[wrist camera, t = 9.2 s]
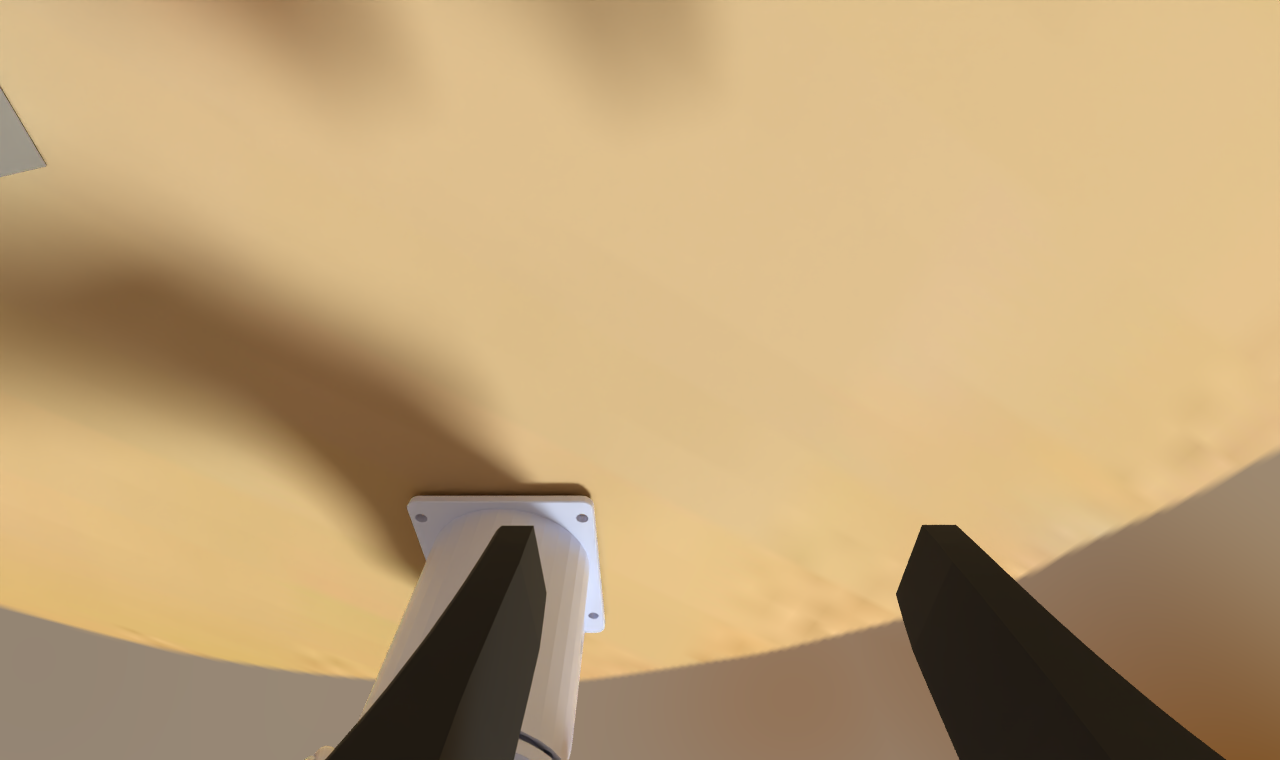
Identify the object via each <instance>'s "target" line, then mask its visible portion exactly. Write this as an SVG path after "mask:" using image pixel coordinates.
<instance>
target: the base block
mask: <svg viewBox="0 0 1280 760" xmlns="http://www.w3.org/2000/svg"><path fill="white" fill-rule="evenodd" d="M41 167H46V164H45V162H44V161H43V159H42V157H41V156H40V154H39V152H38V151H37V149H36V147H35V145H34V144H33V142H32V140H31V139H30V137H29V135H28V134H27V132H26V130H25V129H24V127H23V125H22V124H21V122H20V120H19V118H18V117H17V115H16V113H15V112H14V110H13V108H12V107H11V105H10V103H9V102H8V100H7V98H6V96H5V95H4V93H3V91H2V90H1V88H0V177H2V176H7V175H11V174H15V173H20V172H24V171H28V170H33V169H37V168H41Z"/></svg>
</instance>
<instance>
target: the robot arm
mask: <svg viewBox="0 0 1280 760" xmlns="http://www.w3.org/2000/svg"><path fill="white" fill-rule="evenodd" d="M407 510H408V513H409V515H410V518H411V521H412V524H413V526H414V529H415V532H416V535H417V537H418V540H419V543H420V546H421V548H422V551H423V554H424V556H425V559H426V563H425V565H424V567H423V570H422V572H421V575H420V577H419V579H418V582H417V584H416V586H415V589H414V591H413V593H412V596H411V598H410V600H409V603H408V605H407V608H406V610H405V612H404V615H403V617H402V619H401V622H400V624H399V626H398V629H397V631H396V634H395V636H394V638H393V641H392V643H391V645H390V648H389V650H388V652H387V655H386V657H385V659H384V662H383V664H382V667H381V669H380V671H379V674H378V676H377V678H376V681H375V683H374V686H373V688H372V690H371V693H370V695H369V698H368V700H367V702H366V704H365V707H364V709H363V711H362V714H361V716H360V718H359V721H358V723H357V724H356V725H355V726H354V727H353V728H352V730H351V731H350V732H349V733H348V734H347V735H346V737H345V738H344V739H343V740H342V741H341V742H340V743H339V744H338V746H337V747H336V748H333V747H330V746H323V747H321V748H320V749H318V750H317V752H316V753H315V754H314V756H309V757H308V758H306V759H304V760H569V757H570V753H571V747H572V739H573V730H574V722H575V712H576V705H577V695H578V686H579V678H580V669H581V660H582V651H583V643H584V634H585V633H596V632H601V631H602V630H604V628H605V614H604V604H603V594H602V583H601V573H600V563H599V552H598V542H597V532H596V521H595V511H594V503H593V501H592V500H591V499H590V498H588V497H586V496H414V497H412V498H411V499H410V501H409V503H408V505H407ZM422 514H423V515H422ZM580 514H585V516H583V515H580ZM896 596H897V600H898V603H899V607H900V610H901V614H902V617H903V621H904V624H905V627H906V631H907V634H908V637H909V640H910V643H911V647H912V650H913V652H914V655H915V657H916V660H917V662H918V664H919V667H920V669H921V671H922V674H923V676H924V679H925V681H926V683H927V686H928V688H929V690H930V693H931V695H932V697H933V699H934V702H935V704H936V706H937V709H938V711H939V713H940V716H941V718H942V720H943V723H944V725H945V727H946V729H947V732H948V734H949V736H950V739H951V741H952V743H953V746H954V748H955V750H956V753H957V755H958V757H959V760H1226V759H1224V758H1223V757H1222V756H1220V755H1219V754H1218V753H1217V752H1215V751H1214V750H1212V749H1211V748H1210V747H1209V746H1207V745H1206V744H1205V743H1204V742H1202V741H1201V740H1200V739H1198V738H1197V737H1196V736H1194V735H1193V734H1192V733H1190V732H1189V731H1188V730H1186V729H1185V728H1184V727H1183V726H1181V725H1180V724H1179V723H1178V722H1176V721H1175V720H1174V719H1173V718H1171V717H1170V716H1169V715H1168V714H1166V713H1165V712H1164V711H1163V710H1161V709H1160V708H1159V707H1158V706H1156V705H1155V704H1154V703H1153V702H1151V701H1150V700H1149V699H1148V698H1147V697H1146V696H1144V695H1143V694H1142V693H1141V692H1140V691H1138V690H1137V689H1136V688H1135V687H1134V686H1132V685H1131V684H1130V683H1129V682H1128V681H1127V680H1125V679H1124V678H1123V677H1122V676H1121V675H1119V674H1118V673H1117V672H1116V671H1115V670H1114V669H1112V668H1111V667H1110V666H1109V665H1108V664H1106V663H1105V662H1104V661H1103V660H1102V659H1101V658H1099V657H1098V656H1097V655H1096V654H1095V653H1094V652H1093V651H1092V650H1090V649H1089V648H1088V647H1087V646H1086V645H1085V644H1084V643H1082V642H1081V641H1080V640H1079V639H1078V638H1077V637H1076V636H1074V635H1073V634H1072V633H1071V632H1070V631H1069V630H1068V629H1067V628H1066V627H1065V626H1063V625H1062V624H1061V623H1060V622H1059V621H1058V620H1057V619H1056V618H1055V617H1054V616H1052V615H1051V614H1050V613H1049V612H1048V611H1047V610H1046V609H1045V608H1044V607H1043V606H1042V605H1041V604H1039V603H1038V602H1037V601H1036V600H1035V599H1034V598H1033V597H1032V596H1031V595H1030V594H1029V593H1028V592H1027V591H1026V590H1024V589H1023V588H1022V587H1021V586H1020V585H1019V584H1018V583H1017V582H1016V581H1015V580H1014V579H1013V578H1012V577H1011V576H1010V575H1009V574H1007V573H1006V572H1005V571H1004V570H1003V569H1002V568H1001V567H1000V566H999V565H998V564H997V563H996V562H995V561H994V560H993V559H992V558H991V557H990V556H989V555H988V554H986V553H985V552H984V551H983V550H982V549H981V548H980V547H979V546H978V545H977V544H976V543H975V542H974V541H973V540H972V539H971V538H970V537H968V536H967V535H966V534H965V533H964V532H963V531H962V530H961V529H960V528H959V527H958V526H957V525H922V527H921V529H920V532H919V535H918V537H917V540H916V543H915V545H914V548H913V551H912V553H911V556H910V559H909V561H908V564H907V566H906V569H905V572H904V574H903V577H902V580H901V582H900V585H899V588H898V590H897V593H896Z"/></svg>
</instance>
